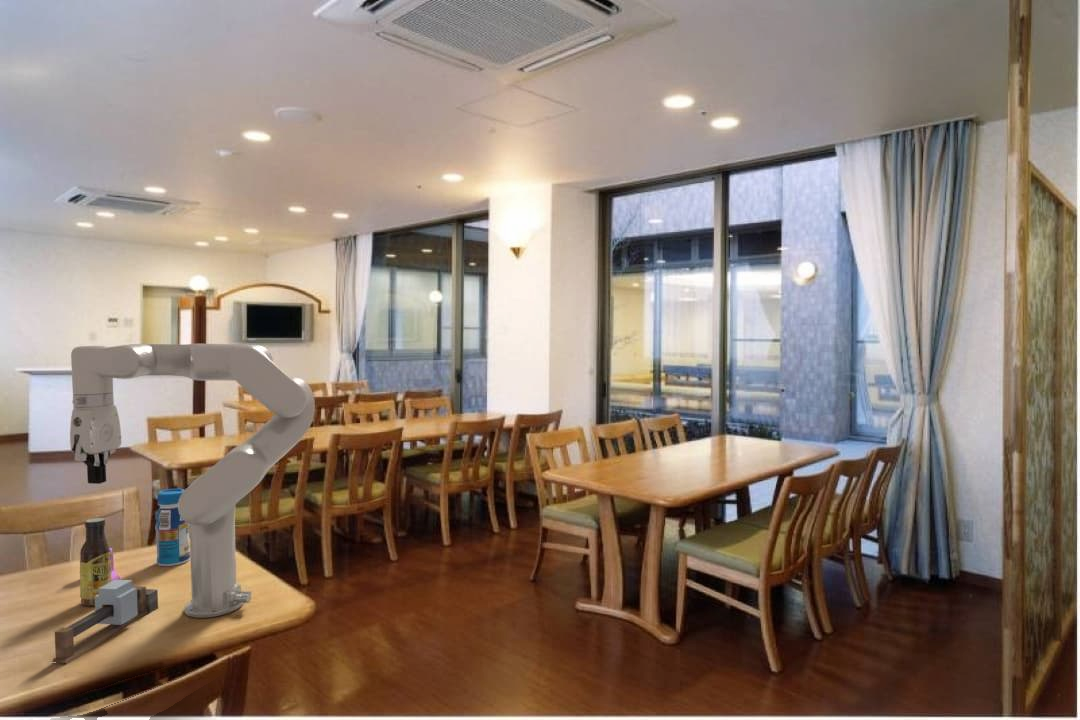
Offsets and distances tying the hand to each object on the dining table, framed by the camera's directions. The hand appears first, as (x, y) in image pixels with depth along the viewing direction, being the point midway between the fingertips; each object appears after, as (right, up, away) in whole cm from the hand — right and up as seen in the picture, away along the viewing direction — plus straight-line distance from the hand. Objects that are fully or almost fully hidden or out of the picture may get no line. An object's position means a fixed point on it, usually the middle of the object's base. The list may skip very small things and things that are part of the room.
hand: (97, 482), depth 150 cm
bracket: (-14, -30, +24) cm, 41 cm away
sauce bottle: (-7, -31, +11) cm, 33 cm away
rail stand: (+6, -31, -6) cm, 33 cm away
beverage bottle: (-3, -29, +37) cm, 47 cm away
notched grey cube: (+7, -29, -3) cm, 30 cm away
